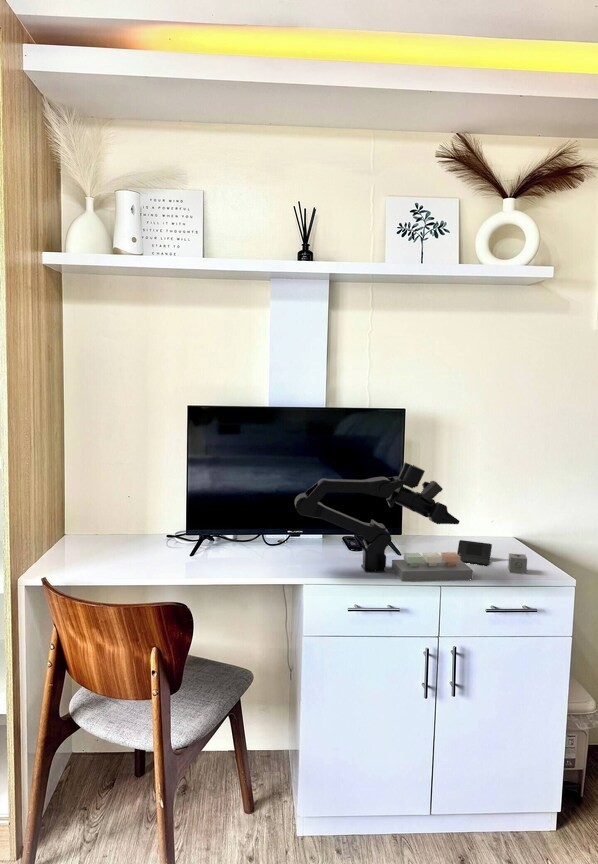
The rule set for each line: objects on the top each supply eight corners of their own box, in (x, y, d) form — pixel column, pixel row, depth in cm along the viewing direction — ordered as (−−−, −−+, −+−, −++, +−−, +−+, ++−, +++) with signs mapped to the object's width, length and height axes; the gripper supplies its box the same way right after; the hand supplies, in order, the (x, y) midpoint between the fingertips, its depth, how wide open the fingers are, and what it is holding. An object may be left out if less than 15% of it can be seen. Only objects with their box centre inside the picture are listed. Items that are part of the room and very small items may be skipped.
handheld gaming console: (454, 559, 228) (459, 531, 233) (452, 566, 234) (457, 539, 239) (490, 567, 225) (494, 539, 230) (487, 575, 231) (491, 547, 236)
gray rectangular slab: (402, 581, 208) (402, 571, 208) (391, 568, 220) (392, 559, 220) (472, 579, 211) (472, 570, 211) (458, 567, 223) (458, 558, 223)
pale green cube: (407, 572, 212) (408, 557, 212) (403, 567, 217) (403, 553, 216) (422, 571, 213) (422, 557, 212) (417, 567, 217) (418, 552, 217)
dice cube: (524, 569, 223) (525, 554, 223) (526, 574, 219) (527, 558, 218) (508, 568, 224) (508, 553, 224) (509, 573, 219) (510, 557, 219)
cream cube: (426, 571, 213) (427, 556, 213) (421, 567, 218) (422, 552, 217) (440, 571, 214) (441, 556, 213) (436, 567, 218) (436, 552, 218)
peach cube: (445, 571, 214) (446, 556, 213) (440, 567, 218) (441, 552, 218) (459, 571, 214) (460, 556, 214) (454, 566, 219) (455, 552, 219)
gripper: (429, 479, 208) (475, 501, 210) (413, 473, 227) (455, 493, 229) (414, 513, 208) (459, 534, 210) (399, 504, 227) (441, 523, 229)
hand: (454, 520), depth 219 cm, fingers open, 9 cm apart
